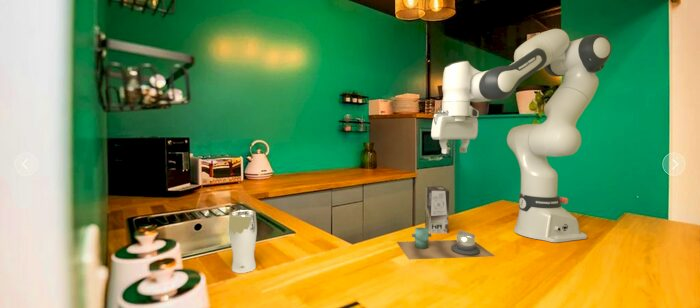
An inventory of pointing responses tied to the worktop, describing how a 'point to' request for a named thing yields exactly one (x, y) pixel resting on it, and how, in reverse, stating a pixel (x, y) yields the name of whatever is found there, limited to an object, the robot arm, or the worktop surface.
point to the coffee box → (437, 209)
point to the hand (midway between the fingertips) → (454, 153)
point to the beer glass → (243, 239)
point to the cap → (465, 241)
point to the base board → (433, 247)
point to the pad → (469, 253)
